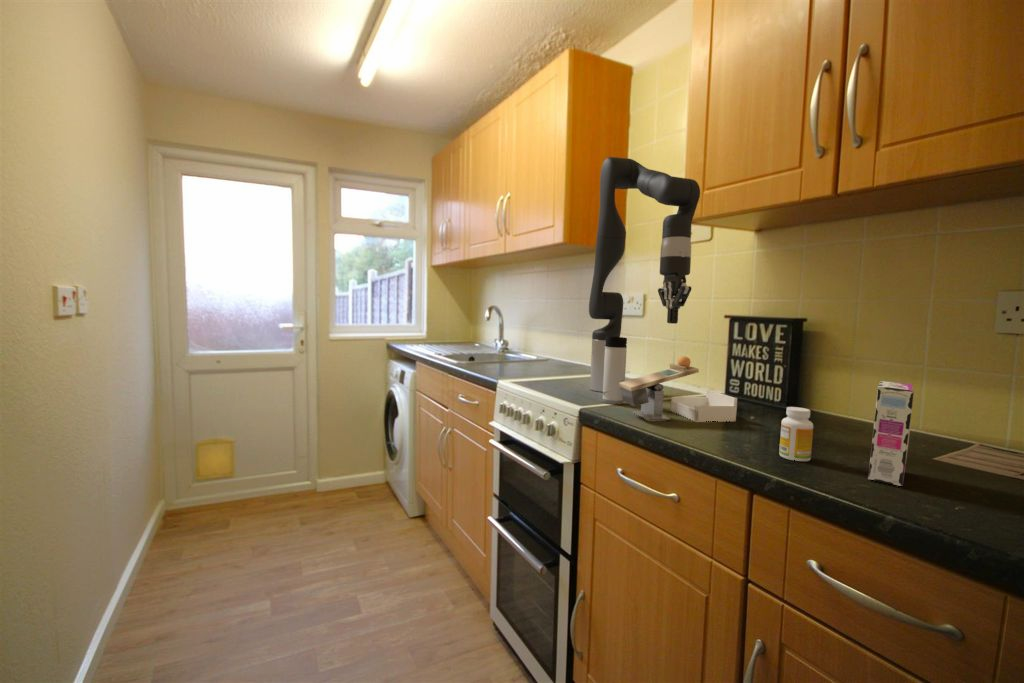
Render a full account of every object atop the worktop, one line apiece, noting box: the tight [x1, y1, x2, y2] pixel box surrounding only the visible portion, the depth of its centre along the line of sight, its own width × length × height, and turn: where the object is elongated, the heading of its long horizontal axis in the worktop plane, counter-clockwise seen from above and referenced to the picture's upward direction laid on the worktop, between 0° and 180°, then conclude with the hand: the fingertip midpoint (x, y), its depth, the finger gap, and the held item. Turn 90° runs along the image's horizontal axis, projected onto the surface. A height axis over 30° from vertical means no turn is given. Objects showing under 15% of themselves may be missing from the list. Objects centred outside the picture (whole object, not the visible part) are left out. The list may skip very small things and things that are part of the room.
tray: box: [670, 389, 738, 423], centre depth 126 cm, size 12×11×6 cm
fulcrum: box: [632, 383, 672, 422], centre depth 123 cm, size 9×6×9 cm, turn 11°
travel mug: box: [602, 336, 628, 405], centre depth 140 cm, size 6×7×20 cm
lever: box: [619, 363, 700, 407], centre depth 123 cm, size 19×7×6 cm, turn 101°
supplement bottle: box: [778, 406, 814, 462], centre depth 93 cm, size 5×5×10 cm
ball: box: [677, 355, 692, 368], centre depth 124 cm, size 3×3×3 cm
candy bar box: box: [867, 380, 915, 487], centre depth 83 cm, size 11×5×16 cm, turn 141°
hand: (672, 323), depth 123 cm, fingers closed
